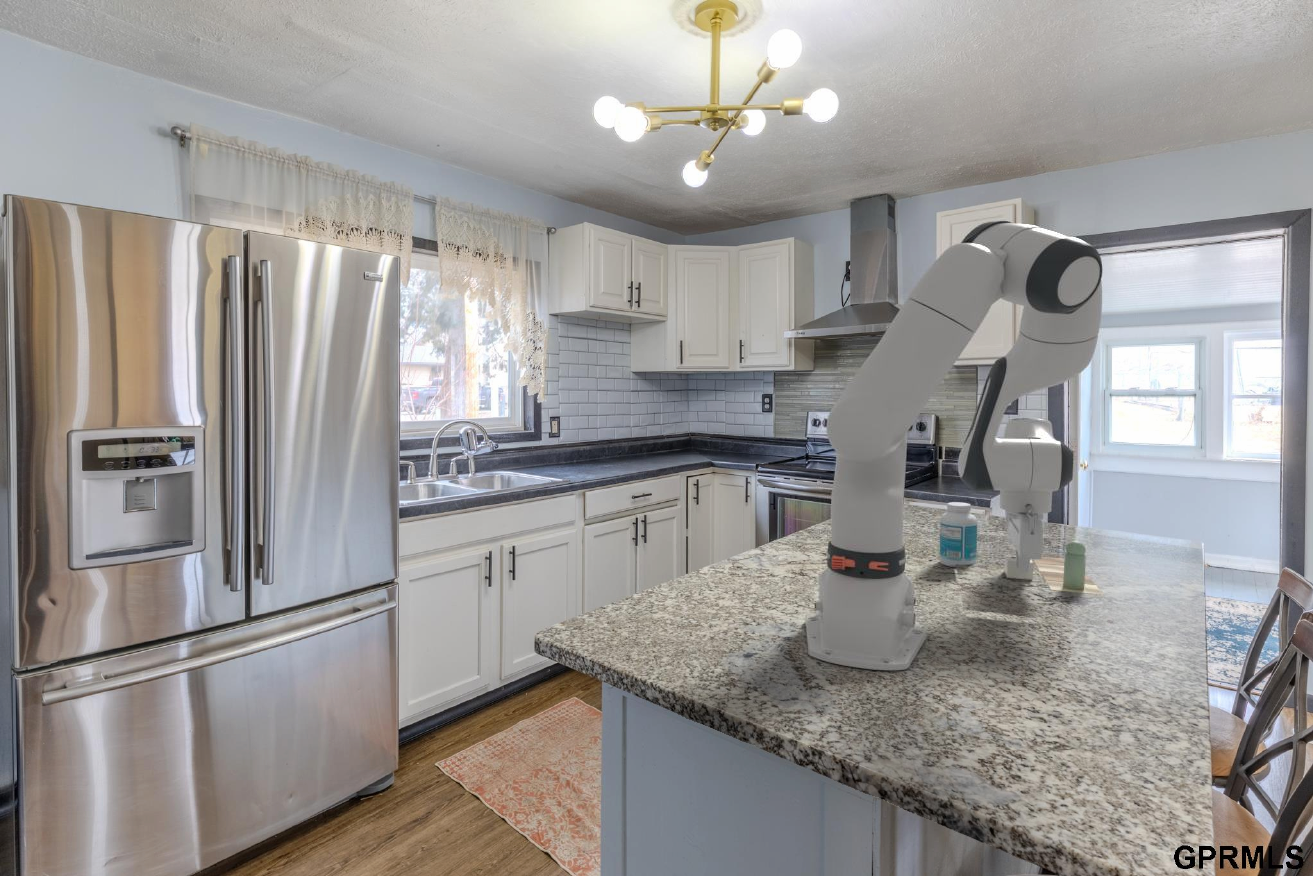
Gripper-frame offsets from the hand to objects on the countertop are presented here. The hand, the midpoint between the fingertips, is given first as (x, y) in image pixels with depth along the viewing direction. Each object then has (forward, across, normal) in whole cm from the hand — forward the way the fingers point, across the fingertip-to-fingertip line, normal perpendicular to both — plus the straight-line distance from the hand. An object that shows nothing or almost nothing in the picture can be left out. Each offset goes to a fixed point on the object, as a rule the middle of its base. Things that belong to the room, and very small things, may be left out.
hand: (1022, 570), depth 129 cm
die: (+3, +4, 0) cm, 5 cm away
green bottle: (+2, -1, -8) cm, 9 cm away
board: (+3, +8, -8) cm, 12 cm away
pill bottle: (+3, +12, +11) cm, 17 cm away
